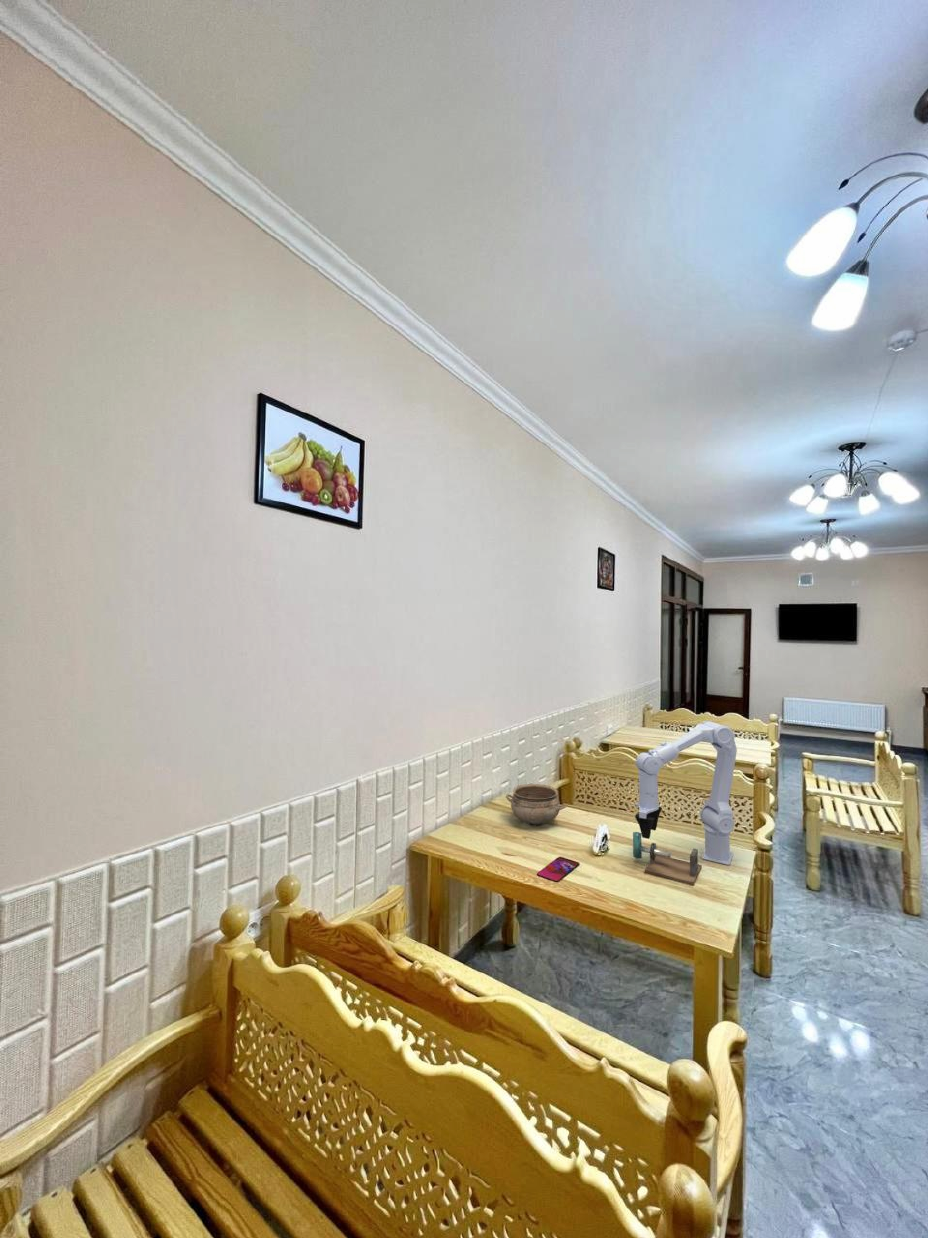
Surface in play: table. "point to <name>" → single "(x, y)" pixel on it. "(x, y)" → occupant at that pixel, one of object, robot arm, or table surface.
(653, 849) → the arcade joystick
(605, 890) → the table surface
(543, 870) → the smartphone
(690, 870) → the eye stand
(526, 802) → the cooking pot
